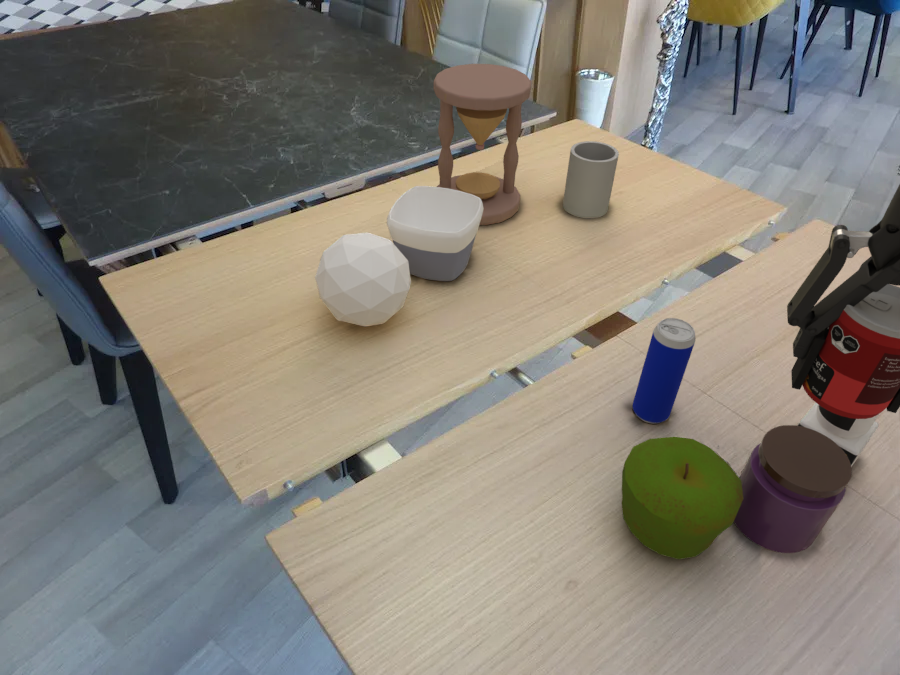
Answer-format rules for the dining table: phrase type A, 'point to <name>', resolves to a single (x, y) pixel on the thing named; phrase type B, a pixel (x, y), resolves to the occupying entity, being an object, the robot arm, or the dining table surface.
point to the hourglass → (482, 130)
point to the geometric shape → (363, 279)
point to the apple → (678, 495)
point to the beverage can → (663, 369)
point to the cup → (590, 179)
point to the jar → (791, 488)
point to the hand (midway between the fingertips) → (841, 390)
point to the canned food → (859, 358)
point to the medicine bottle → (841, 429)
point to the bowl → (435, 230)
